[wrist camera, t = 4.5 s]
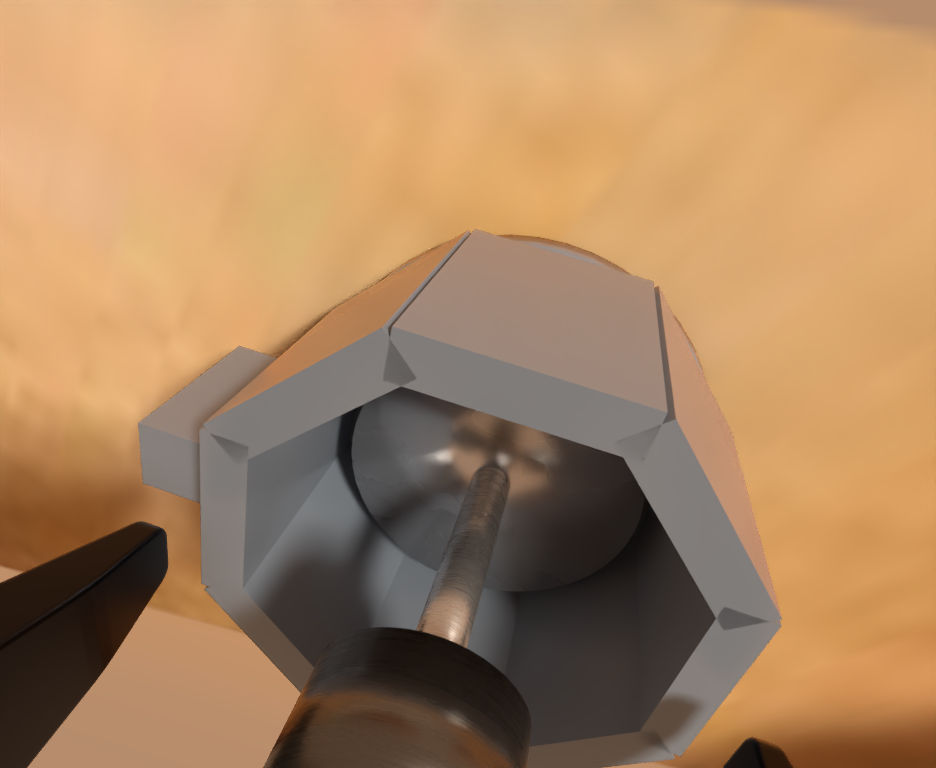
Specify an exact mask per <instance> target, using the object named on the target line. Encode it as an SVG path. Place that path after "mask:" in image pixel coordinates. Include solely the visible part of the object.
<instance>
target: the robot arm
mask: <svg viewBox="0 0 936 768" xmlns="http://www.w3.org/2000/svg"><path fill="white" fill-rule="evenodd" d="M167 569H168V550H167V535H166V532H165V530H164V529H162V528H160V527H157V526H155V525H152V524H149V523H146V522H136V523H133V524H130V525H128V526H126V527H124V528H121V529H119V530H117V531H115V532H112V533H110V534H108V535H106V536H104V537H101V538H99V539H97V540H95V541H92V542H90V543H88V544H86V545H84V546H81V547H79V548H77V549H75V550H72V551H70V552H68V553H66V554H63V555H61V556H59V557H57V558H55V559H52V560H50V561H48V562H46V563H43V564H41V565H39V566H37V567H35V568H32V569H30V570H28V571H26V572H23V573H21V574H19V575H17V576H15V577H12V578H10V579H8V580H6V581H4V582H1V583H0V768H27V767H28V766H29V765H30V763H31V762H32V761H33V759H34V758H35V757H36V756H37V754H38V753H39V752H40V751H41V749H42V748H43V747H44V746H45V744H46V743H47V742H48V741H49V739H50V738H51V737H52V736H53V734H54V733H55V732H56V731H57V729H58V728H59V727H60V726H61V724H62V723H63V721H65V719H66V718H67V717H68V715H69V714H70V713H71V712H72V710H73V709H74V708H75V707H76V705H77V704H78V703H79V702H80V700H81V699H82V698H83V697H84V695H85V694H86V693H87V692H88V690H89V689H90V688H91V687H92V685H93V684H94V683H95V681H96V680H97V679H98V677H99V676H100V675H101V673H102V672H103V671H104V669H105V668H106V666H107V665H108V663H109V662H110V661H111V659H112V658H113V656H114V655H115V653H116V652H117V650H118V648H119V647H120V645H121V644H122V642H123V641H124V639H125V638H126V636H127V635H128V633H129V632H130V630H131V628H132V627H133V625H134V623H135V622H136V621H137V619H138V618H139V616H140V615H141V613H142V611H143V610H144V608H145V607H146V605H147V604H148V602H149V601H150V599H151V598H152V596H153V595H154V593H155V591H156V590H157V588H158V587H159V585H160V584H161V582H162V581H163V579H164V577H165V575H166V572H167ZM723 768H794V767H793V766H792V764H791V762H790V761H789V759H788V757H787V756H786V754H785V753H784V752H783V751H782V749H781V748H779V747H778V746H776V745H774V744H772V743H769V742H766V741H763V740H760V739H757V738H754V737H751V738H747V739H746V740H745V741H744V742H743V743H742V745H741V746H740V747H739V748H738V749H737V750H736V752H735V753H734V754H733V755H732V756H731V757H730V759H729V760H728V761H727V762H726V763H725V765H724V767H723Z"/></svg>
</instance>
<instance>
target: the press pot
mask: <svg viewBox="0 0 936 768" xmlns="http://www.w3.org/2000/svg"><path fill="white" fill-rule="evenodd" d="M401 386H402V387H405V388H408V389H411V390H415V391H418V392H421V393H424V394H427V395H430V396H433V397H436V398H440V399H443V400H446V401H449V402H452V403H455V404H458V405H461V406H465V407H468V408H471V409H474V410H477V411H480V412H483V413H486V414H490V415H493V416H496V417H499V418H502V419H505V420H508V421H511V422H515V423H518V424H521V425H524V426H527V427H530V428H533V429H536V430H540V431H543V432H546V433H549V434H552V435H555V436H558V437H561V438H565V439H568V440H571V441H574V442H577V443H580V444H583V445H586V446H589V447H593V448H596V449H599V450H602V451H605V452H608V453H611V454H614V455H618V456H621V457H623V458H624V460H625V461H626V463H627V465H628V467H629V468H630V470H631V472H632V473H633V475H634V477H635V479H636V480H637V482H638V484H639V486H640V487H641V489H642V491H643V493H644V494H645V496H644V504H643V509H642V513H641V517H640V520H639V522H638V525H637V527H636V529H635V531H634V533H633V535H632V536H631V538H630V540H629V541H628V543H627V544H626V545H625V547H624V548H623V549H622V550H621V551H620V552H619V554H618V555H617V556H616V557H615V558H613V559H612V560H611V561H610V562H609V563H608V564H606V565H605V566H604V567H602V568H601V569H599V570H598V571H596V572H594V573H593V574H591V575H589V576H587V577H585V578H583V579H581V580H578V581H576V582H573V583H570V584H567V585H564V586H561V587H556V588H551V589H546V590H537V591H503V590H493V589H488V588H483V590H482V594H481V598H480V601H479V605H478V609H477V613H476V616H475V620H474V624H473V627H472V631H471V635H470V639H469V642H468V646H467V649H469V650H471V651H473V652H474V653H476V654H477V655H479V656H481V657H482V658H484V659H485V660H487V661H488V662H489V663H491V664H492V665H493V666H495V667H496V668H497V669H498V670H499V671H501V672H502V673H503V674H504V675H505V676H506V677H507V678H508V679H509V680H510V681H511V683H512V684H513V685H514V686H515V687H516V688H517V690H518V691H519V693H520V694H521V696H522V697H523V699H524V701H525V703H526V705H527V707H528V710H529V713H530V717H531V724H532V732H531V739H530V746H529V753H528V760H527V767H526V768H602V767H611V766H619V765H628V764H637V763H646V762H654V761H663V760H672V759H675V755H678V756H681V755H682V754H683V753H684V752H685V750H686V749H687V748H688V746H689V745H690V744H691V742H692V741H693V740H694V739H695V737H696V736H697V735H698V733H699V732H700V731H701V729H702V728H703V727H704V726H705V724H706V723H707V722H708V720H709V719H710V718H711V717H712V715H713V714H714V713H715V711H716V710H717V709H718V707H719V706H720V705H721V704H722V702H723V701H724V700H725V698H726V697H727V696H728V694H729V693H730V692H731V691H732V689H733V688H734V687H735V685H736V684H737V683H738V682H739V680H740V679H741V678H742V676H743V675H744V674H745V672H746V671H747V670H748V669H749V667H750V666H751V665H752V663H753V662H754V661H755V660H756V658H757V657H758V656H759V654H760V653H761V652H762V650H763V649H764V648H765V647H766V645H767V644H768V643H769V641H770V640H771V639H772V637H773V636H774V635H775V634H776V632H777V631H778V630H779V628H780V627H781V622H780V619H782V617H781V613H780V610H779V606H778V602H777V599H776V595H775V591H774V588H773V584H772V580H771V576H770V573H769V569H768V565H767V562H766V558H765V554H764V551H763V547H762V543H761V539H760V536H759V532H758V528H757V525H756V521H755V517H754V514H753V510H752V506H751V503H750V499H749V495H748V491H747V488H746V484H745V480H744V477H743V473H742V469H741V466H740V462H739V458H738V454H737V451H736V447H735V443H734V440H733V436H732V432H731V430H730V428H729V426H728V424H727V422H726V420H725V418H724V416H723V414H722V412H721V410H720V408H719V406H718V404H717V402H716V400H715V398H714V396H713V394H712V392H711V390H710V388H709V386H708V384H707V382H706V380H705V378H704V373H703V369H702V366H701V364H700V361H699V359H698V356H697V354H696V351H695V349H694V346H693V344H692V342H691V341H690V339H689V337H688V336H687V334H686V332H685V331H684V329H683V327H682V326H681V324H680V322H679V321H678V320H677V319H676V317H675V316H674V315H673V313H672V311H671V309H670V307H669V305H668V303H667V301H666V299H665V297H664V295H663V293H662V291H661V289H660V287H659V286H657V287H655V288H654V283H653V281H650V280H647V279H643V278H640V277H637V276H633V275H631V274H629V273H628V272H626V271H625V270H624V269H622V268H621V267H619V266H617V265H615V264H613V263H612V262H610V261H608V260H606V259H604V258H602V257H600V256H598V255H596V254H594V253H592V252H589V251H586V250H583V249H581V248H578V247H575V246H572V245H570V244H567V243H562V242H558V241H553V240H549V239H545V238H540V237H531V236H519V235H493V234H490V233H487V232H483V231H480V230H476V229H475V230H474V231H473V232H472V233H470V232H469V230H467V231H466V232H464V233H462V234H461V235H459V236H457V237H455V238H454V239H452V240H450V241H449V242H447V243H445V244H443V245H442V246H439V247H436V248H432V249H430V250H428V251H426V252H424V253H422V254H420V255H418V256H416V257H414V258H412V259H410V260H409V261H407V262H406V263H404V264H403V265H401V266H400V267H398V268H397V269H395V270H394V271H393V272H391V273H390V274H389V275H388V276H387V277H386V278H385V279H383V280H382V281H380V282H378V283H377V284H375V285H373V286H372V287H370V288H368V289H366V290H365V291H363V292H361V293H360V294H358V295H356V296H354V297H353V298H351V299H349V300H348V301H346V302H344V303H342V304H341V305H339V306H337V307H336V308H334V309H333V310H332V311H331V312H330V313H329V314H327V315H326V316H325V317H324V318H323V319H322V320H321V321H319V322H318V323H317V324H316V325H315V326H314V327H313V328H312V329H310V330H309V331H308V332H307V333H306V334H305V335H304V336H302V337H301V338H300V339H299V340H298V341H297V342H296V343H294V344H293V345H292V346H291V347H290V348H289V349H288V350H287V351H285V352H284V353H283V354H282V355H281V356H280V357H279V358H275V357H272V356H269V355H266V354H263V353H260V352H257V351H254V350H251V349H248V348H244V347H241V346H239V347H237V348H236V349H235V350H233V351H232V352H231V353H230V354H228V355H227V356H226V357H224V358H223V359H222V360H220V361H219V362H218V363H216V364H215V365H214V366H212V367H211V368H210V369H208V370H207V371H206V372H205V373H203V374H202V375H201V376H199V377H198V378H197V379H195V380H194V381H193V382H191V383H190V384H189V385H187V386H186V387H185V388H184V389H182V390H181V391H180V392H178V393H177V394H176V395H174V396H173V397H172V398H170V399H169V400H168V401H166V402H165V403H164V404H163V405H161V406H160V407H159V408H157V409H156V410H155V411H153V412H152V413H151V414H149V415H148V416H147V417H145V418H144V419H143V420H141V421H140V422H139V423H138V426H139V439H140V452H141V464H142V477H143V484H146V485H149V486H152V487H155V488H158V489H161V490H163V491H166V492H169V493H172V494H175V495H178V496H181V497H184V498H186V499H189V500H192V501H195V502H198V503H200V510H201V584H204V585H206V588H205V589H204V590H205V591H206V592H207V593H208V594H209V595H210V596H211V597H212V598H213V599H214V600H215V601H216V602H217V604H218V605H219V606H220V607H221V608H222V609H223V610H224V611H225V612H226V613H227V614H228V615H229V616H230V617H231V619H232V620H233V621H234V622H235V623H236V624H237V625H238V626H239V627H240V628H241V629H242V630H243V631H244V632H245V634H246V635H247V636H248V637H249V638H250V639H251V640H252V641H253V642H254V643H255V644H256V645H257V646H258V647H259V648H260V650H261V651H262V652H263V653H264V654H265V655H266V656H267V657H268V658H269V659H270V660H271V661H272V662H273V664H274V665H275V666H276V667H277V668H278V669H279V670H280V671H281V672H282V673H283V674H284V675H285V676H286V677H287V678H288V680H289V681H290V682H291V683H292V684H293V685H294V686H295V687H296V688H297V689H298V690H299V691H300V692H302V690H303V688H304V686H305V685H306V683H307V681H308V679H309V677H310V675H311V673H312V671H313V669H314V667H315V665H316V663H317V661H318V659H319V657H320V655H321V653H322V652H323V650H324V649H325V648H326V647H327V646H328V645H329V644H330V643H331V642H333V641H334V640H335V639H337V638H339V637H341V636H342V635H344V634H347V633H350V632H353V631H356V630H361V629H366V628H375V627H397V628H405V629H412V630H416V629H417V626H418V623H419V621H420V618H421V615H422V613H423V610H424V607H425V604H426V602H427V599H428V596H429V593H430V591H431V588H432V585H433V582H434V580H435V577H436V574H437V571H435V570H433V569H431V568H429V567H427V566H426V565H424V564H423V563H421V562H420V561H418V560H416V559H415V558H413V557H412V556H411V555H409V554H408V553H407V552H406V551H404V550H403V549H402V548H400V547H399V546H398V545H397V544H396V543H395V542H394V541H393V540H392V539H391V538H390V537H389V536H388V535H387V534H386V533H385V532H384V530H383V529H382V528H381V527H380V526H379V525H378V523H377V522H376V520H375V519H374V517H373V516H372V515H371V513H370V512H369V510H368V508H367V506H366V504H365V502H364V501H363V499H362V497H361V494H360V491H359V489H358V486H357V483H356V480H355V475H354V471H353V465H352V439H353V434H354V429H355V425H356V422H357V419H358V417H359V414H360V412H361V410H362V408H363V406H364V405H365V403H367V402H369V401H371V400H374V399H376V398H378V397H380V396H382V395H384V394H386V393H388V392H390V391H392V390H394V389H397V388H399V387H401ZM674 754H675V755H674Z"/></svg>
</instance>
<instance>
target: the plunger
mask: <svg viewBox="0 0 936 768" xmlns="http://www.w3.org/2000/svg"><path fill="white" fill-rule="evenodd" d="M352 465H353V471H354V475H355V480H356V483H357V486H358V489H359V491H360V494H361V497H362V499H363V501H364V502H365V504H366V506H367V508H368V510H369V512H370V513H371V515H372V516H373V517H374V519H375V520H376V522H377V523H378V525H379V526H380V527H381V528H382V529H383V530H384V532H385V533H386V534H387V535H388V536H389V537H390V538H391V539H392V540H393V541H394V542H395V543H396V544H397V545H398V546H399V547H400V548H402V549H403V550H404V551H406V552H407V553H408V554H409V555H411V556H412V557H413V558H415V559H416V560H418V561H420V562H421V563H423V564H424V565H426V566H427V567H429V568H431V569H433V570H435V571H437V574H436V577H435V580H434V582H433V585H432V588H431V591H430V593H429V596H428V599H427V602H426V604H425V607H424V610H423V613H422V615H421V618H420V621H419V623H418V626H417V629H416V630H412V629H405V628H397V627H375V628H366V629H361V630H356V631H353V632H350V633H347V634H344V635H342V636H341V637H339V638H337V639H335V640H334V641H333V642H331V643H330V644H329V645H328V646H327V647H326V648H325V649H324V650H323V652H322V653H321V655H320V657H319V659H318V661H317V663H316V665H315V667H314V669H313V671H312V673H311V675H310V677H309V679H308V681H307V683H306V685H305V686H304V688H303V690H302V692H301V694H300V696H299V698H298V700H297V702H296V704H295V706H294V708H293V710H292V712H291V714H290V716H289V718H288V720H287V722H286V724H285V726H284V728H283V730H282V732H281V734H280V736H279V738H278V740H277V742H276V744H275V746H274V747H273V749H272V751H271V753H270V755H269V757H268V759H267V761H266V763H265V766H264V767H263V768H526V767H527V760H528V753H529V746H530V739H531V732H532V724H531V717H530V713H529V710H528V707H527V705H526V703H525V701H524V699H523V697H522V696H521V694H520V693H519V691H518V690H517V688H516V687H515V686H514V685H513V684H512V683H511V681H510V680H509V679H508V678H507V677H506V676H505V675H504V674H503V673H502V672H501V671H499V670H498V669H497V668H496V667H495V666H493V665H492V664H491V663H489V662H488V661H487V660H485V659H484V658H482V657H481V656H479V655H477V654H476V653H474V652H473V651H471V650H469V649H467V646H468V642H469V639H470V635H471V631H472V627H473V624H474V620H475V616H476V613H477V609H478V605H479V601H480V598H481V594H482V590H483V588H488V589H493V590H503V591H537V590H546V589H551V588H556V587H561V586H564V585H567V584H570V583H573V582H576V581H578V580H581V579H583V578H585V577H587V576H589V575H591V574H593V573H594V572H596V571H598V570H599V569H601V568H602V567H604V566H605V565H606V564H608V563H609V562H610V561H611V560H612V559H613V558H615V557H616V556H617V555H618V554H619V552H620V551H621V550H622V549H623V548H624V547H625V545H626V544H627V543H628V541H629V540H630V538H631V536H632V535H633V533H634V531H635V529H636V527H637V525H638V522H639V520H640V517H641V513H642V509H643V504H644V496H645V494H644V493H643V491H642V489H641V487H640V486H639V484H638V482H637V480H636V479H635V477H634V475H633V473H632V472H631V470H630V468H629V467H628V465H627V463H626V461H625V460H624V458H623V457H621V456H618V455H614V454H611V453H608V452H605V451H602V450H599V449H596V448H593V447H589V446H586V445H583V444H580V443H577V442H574V441H571V440H568V439H565V438H561V437H558V436H555V435H552V434H549V433H546V432H543V431H540V430H536V429H533V428H530V427H527V426H524V425H521V424H518V423H515V422H511V421H508V420H505V419H502V418H499V417H496V416H493V415H490V414H486V413H483V412H480V411H477V410H474V409H471V408H468V407H465V406H461V405H458V404H455V403H452V402H449V401H446V400H443V399H440V398H436V397H433V396H430V395H427V394H424V393H421V392H418V391H415V390H411V389H408V388H405V387H402V386H401V387H399V388H397V389H394V390H392V391H390V392H388V393H386V394H384V395H382V396H380V397H378V398H376V399H374V400H371V401H369V402H367V403H365V405H364V406H363V408H362V410H361V412H360V414H359V417H358V419H357V422H356V425H355V429H354V434H353V439H352Z"/></svg>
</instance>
